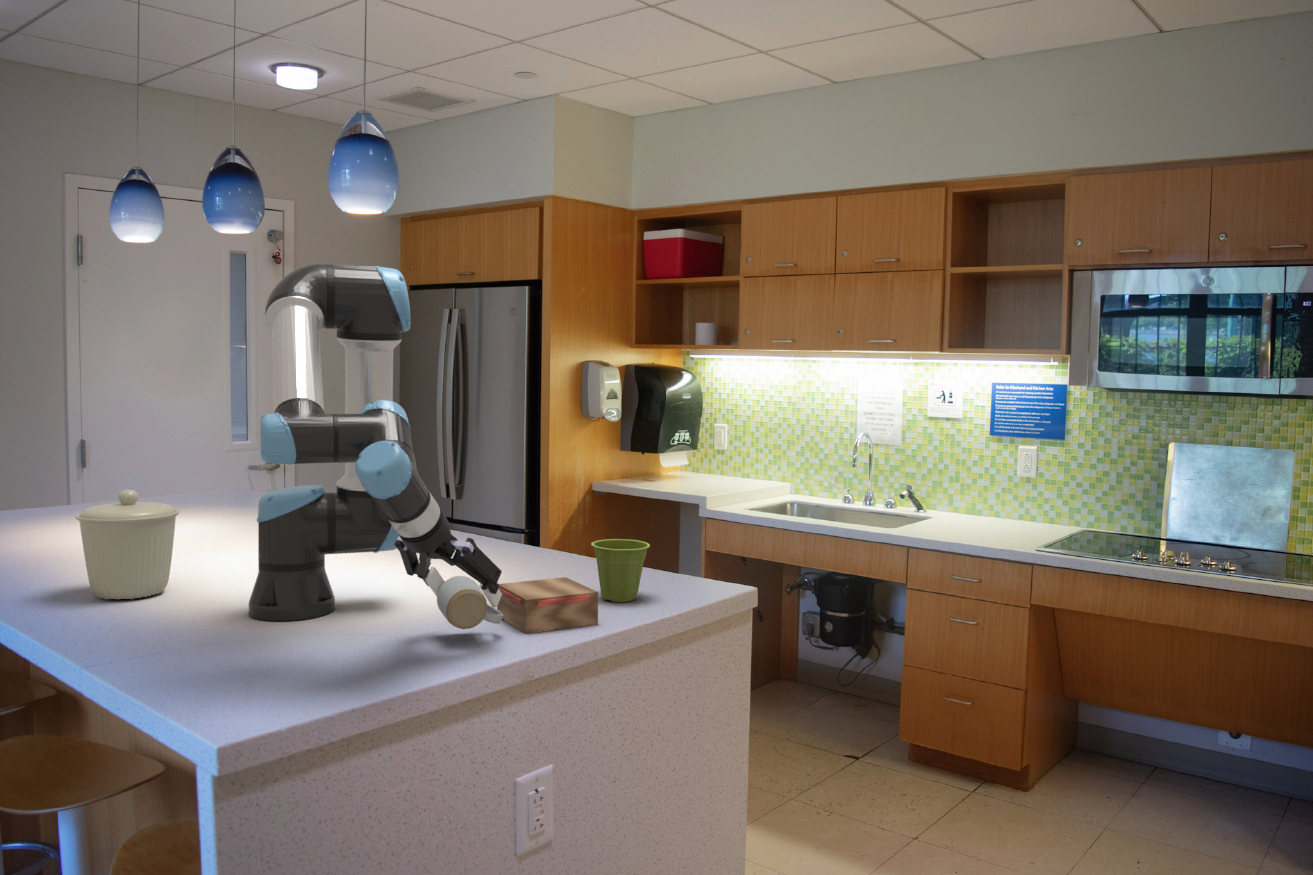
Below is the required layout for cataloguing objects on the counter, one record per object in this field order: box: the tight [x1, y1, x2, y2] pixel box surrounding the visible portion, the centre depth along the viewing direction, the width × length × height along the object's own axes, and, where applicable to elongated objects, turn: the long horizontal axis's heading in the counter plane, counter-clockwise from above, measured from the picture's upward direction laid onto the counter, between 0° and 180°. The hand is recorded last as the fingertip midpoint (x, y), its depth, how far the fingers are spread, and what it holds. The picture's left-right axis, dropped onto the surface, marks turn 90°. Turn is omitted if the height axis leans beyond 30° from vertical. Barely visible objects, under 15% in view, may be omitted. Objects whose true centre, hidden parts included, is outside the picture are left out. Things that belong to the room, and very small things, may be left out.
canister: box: [75, 489, 180, 600], centre depth 192 cm, size 18×18×21 cm
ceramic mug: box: [436, 575, 503, 630], centre depth 165 cm, size 11×8×8 cm
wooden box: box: [496, 576, 599, 635], centre depth 178 cm, size 14×14×6 cm
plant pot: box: [590, 538, 651, 603], centre depth 196 cm, size 12×12×11 cm
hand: (470, 597), depth 167 cm, fingers closed on ceramic mug, 10 cm apart
